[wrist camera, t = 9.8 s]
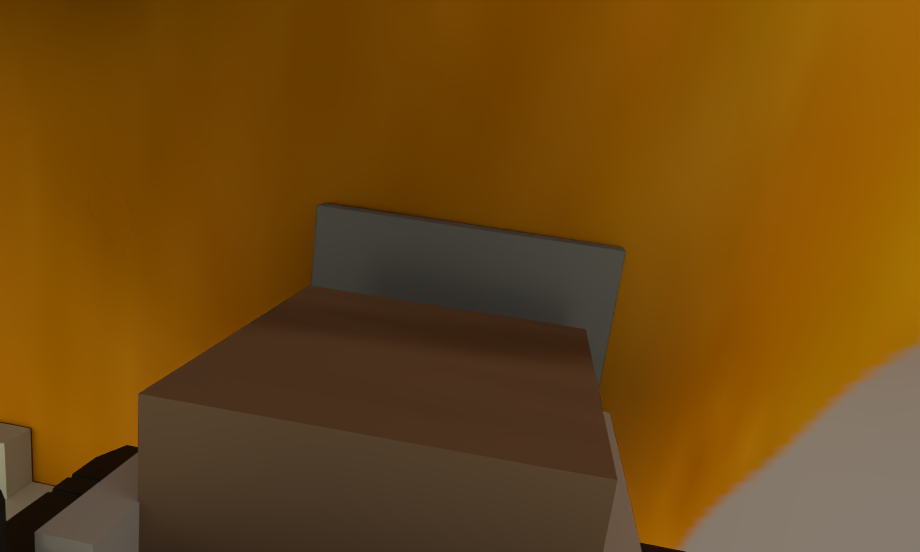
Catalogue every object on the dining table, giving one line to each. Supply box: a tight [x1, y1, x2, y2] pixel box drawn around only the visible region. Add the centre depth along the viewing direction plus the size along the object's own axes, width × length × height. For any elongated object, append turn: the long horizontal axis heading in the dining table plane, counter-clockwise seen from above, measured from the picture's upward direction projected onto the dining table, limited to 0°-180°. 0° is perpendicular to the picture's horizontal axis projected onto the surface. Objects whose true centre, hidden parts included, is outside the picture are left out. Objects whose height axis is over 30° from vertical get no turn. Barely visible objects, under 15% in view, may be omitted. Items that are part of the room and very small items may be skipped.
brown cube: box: [138, 285, 618, 552], centre depth 11 cm, size 6×6×6 cm
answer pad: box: [311, 203, 626, 389], centre depth 17 cm, size 8×8×1 cm
